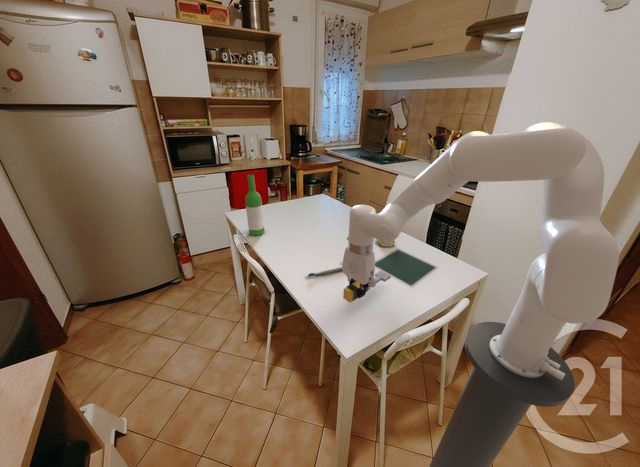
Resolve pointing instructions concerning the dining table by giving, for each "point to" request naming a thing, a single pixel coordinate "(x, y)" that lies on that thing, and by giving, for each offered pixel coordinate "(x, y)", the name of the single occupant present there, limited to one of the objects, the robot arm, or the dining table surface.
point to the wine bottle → (254, 209)
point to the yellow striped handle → (352, 289)
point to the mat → (404, 266)
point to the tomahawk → (326, 272)
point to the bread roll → (385, 243)
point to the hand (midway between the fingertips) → (357, 292)
